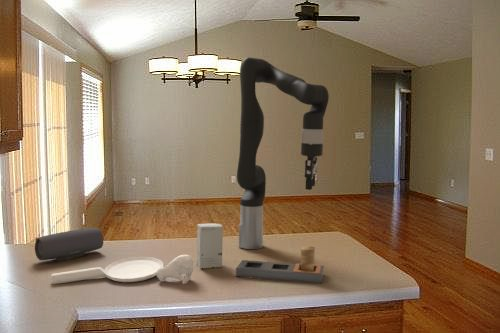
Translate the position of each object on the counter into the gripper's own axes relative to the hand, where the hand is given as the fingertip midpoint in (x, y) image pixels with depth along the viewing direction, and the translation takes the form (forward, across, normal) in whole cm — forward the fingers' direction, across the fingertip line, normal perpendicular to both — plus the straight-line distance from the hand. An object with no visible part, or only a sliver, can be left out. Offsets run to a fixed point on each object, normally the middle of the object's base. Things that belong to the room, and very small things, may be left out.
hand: (310, 187), depth 167 cm
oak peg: (+28, +16, +2) cm, 32 cm away
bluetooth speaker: (+30, +15, -87) cm, 93 cm away
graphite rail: (+28, +16, -7) cm, 33 cm away
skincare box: (+29, +12, -33) cm, 45 cm away
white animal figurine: (+29, +30, -38) cm, 57 cm away
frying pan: (+30, +32, -61) cm, 75 cm away
